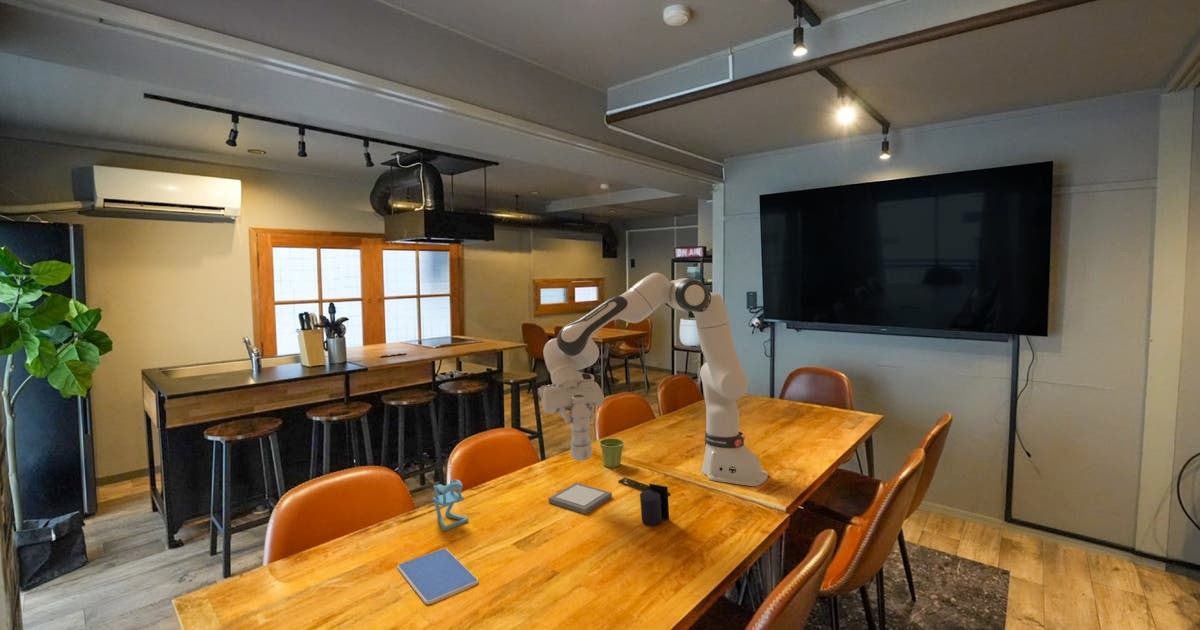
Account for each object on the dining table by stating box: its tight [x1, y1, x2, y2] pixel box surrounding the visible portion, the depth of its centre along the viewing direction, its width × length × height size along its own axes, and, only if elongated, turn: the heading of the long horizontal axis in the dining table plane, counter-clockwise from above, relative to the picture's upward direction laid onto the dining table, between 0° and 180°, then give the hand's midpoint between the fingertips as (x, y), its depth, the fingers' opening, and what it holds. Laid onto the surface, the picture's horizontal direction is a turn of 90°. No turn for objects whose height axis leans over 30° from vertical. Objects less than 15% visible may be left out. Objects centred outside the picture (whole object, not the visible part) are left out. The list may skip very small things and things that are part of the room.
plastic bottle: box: [568, 395, 593, 462], centre depth 158 cm, size 6×7×20 cm
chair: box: [432, 479, 469, 531], centre depth 146 cm, size 8×8×12 cm
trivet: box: [548, 482, 613, 515], centre depth 160 cm, size 14×14×2 cm
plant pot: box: [598, 437, 626, 469], centre depth 189 cm, size 9×9×9 cm
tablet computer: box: [396, 548, 480, 605], centre depth 121 cm, size 19×13×1 cm, turn 40°
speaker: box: [639, 483, 670, 527], centre depth 145 cm, size 8×6×10 cm
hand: (580, 420), depth 157 cm, fingers closed on plastic bottle, 6 cm apart
